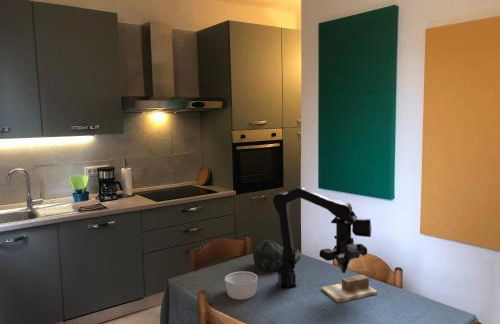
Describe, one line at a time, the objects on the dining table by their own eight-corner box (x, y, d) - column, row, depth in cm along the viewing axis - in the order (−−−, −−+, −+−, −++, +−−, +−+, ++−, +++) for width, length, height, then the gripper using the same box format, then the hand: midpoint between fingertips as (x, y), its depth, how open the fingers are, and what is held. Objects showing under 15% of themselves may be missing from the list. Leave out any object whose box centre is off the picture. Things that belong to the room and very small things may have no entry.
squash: (272, 248, 201) (257, 230, 193) (295, 256, 190) (280, 238, 182) (256, 272, 195) (241, 255, 187) (279, 281, 184) (264, 264, 176)
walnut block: (347, 282, 158) (369, 277, 162) (341, 278, 162) (363, 274, 166) (347, 291, 159) (369, 287, 162) (341, 287, 162) (363, 283, 166)
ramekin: (219, 299, 159) (219, 282, 158) (232, 285, 171) (232, 269, 170) (251, 303, 154) (250, 286, 154) (262, 289, 167) (261, 273, 166)
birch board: (337, 302, 153) (337, 299, 153) (321, 290, 164) (321, 287, 164) (377, 294, 159) (377, 291, 159) (359, 282, 170) (359, 279, 170)
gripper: (334, 243, 147) (334, 284, 149) (376, 237, 154) (375, 276, 155) (318, 235, 157) (318, 273, 159) (358, 229, 164) (358, 266, 166)
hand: (343, 272), depth 160 cm, fingers closed
